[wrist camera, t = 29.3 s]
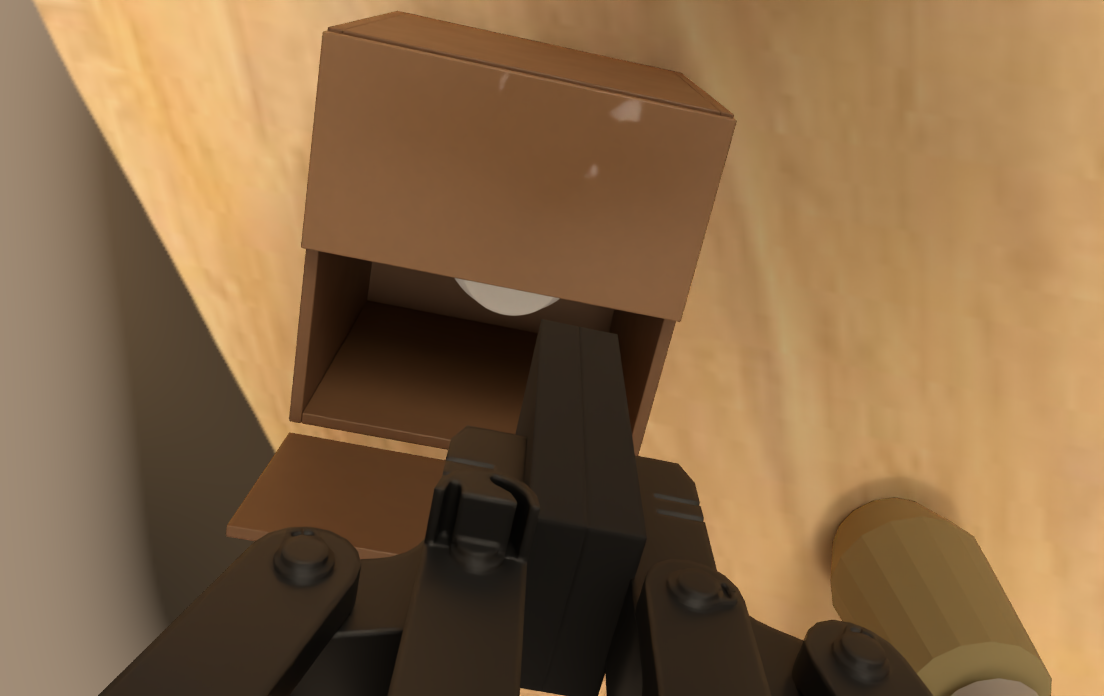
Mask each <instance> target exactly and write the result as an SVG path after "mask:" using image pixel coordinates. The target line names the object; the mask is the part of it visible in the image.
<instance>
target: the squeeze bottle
mask: <svg viewBox="0 0 1104 696" xmlns="http://www.w3.org/2000/svg"><path fill="white" fill-rule="evenodd" d="M831 591H832V603H833V606H834V608H835V610H836V611H837V613H838V615H839V616H840V618H841V620H842V621H843V622H850V623H853V624H856V625H858V626H861V627H864V628H866V629H868V630H871V631H872V632H874V633H875V634H877V635H879V636H880V637H882V638H883V639H885V640H886V641H888V642H889V643H890V644H891V645H892V646H893V647H894V648H895V649H896V650H897V651H898V652H899V653H900V654H901V655H902V656H903V657H904V658H905V659H906V660H907V662H908V663H909V664H910V665H911V667H912V668H913V669H914V671H915V672H916V673H917V675H918V676H919V677H920V679H921V680H922V681H923V682H924V684H925V685H926V686H927V688H928V689H929V690H930V692H931V693H932V694H933V696H1051V682H1052V678H1051V676H1050V675H1049V673H1048V671H1047V669H1046V667H1045V665H1044V664H1043V662H1042V660H1041V658H1040V656H1039V654H1038V653H1037V651H1036V649H1035V647H1034V645H1033V643H1032V642H1031V640H1030V638H1029V636H1028V634H1027V632H1026V631H1025V629H1024V627H1023V625H1022V623H1021V621H1020V619H1019V618H1018V616H1017V614H1016V612H1015V610H1014V608H1013V607H1012V605H1011V603H1010V601H1009V599H1008V597H1007V596H1006V594H1005V592H1004V590H1003V588H1002V586H1001V585H1000V583H999V581H998V579H997V577H996V575H995V574H994V572H993V570H992V568H991V566H990V564H989V563H988V561H987V559H986V557H985V555H984V553H983V552H982V550H981V548H980V546H979V545H978V543H977V541H976V539H975V538H974V536H972V535H971V534H969V533H968V532H966V531H965V530H963V529H962V528H960V527H958V526H957V525H955V524H954V523H952V522H951V521H949V520H947V519H945V518H943V517H942V516H940V515H938V514H936V513H934V512H933V511H931V510H929V509H927V508H925V507H924V506H922V505H920V504H918V503H916V502H915V501H910V500H905V499H899V498H888V499H882V500H875V501H872V502H870V503H868V504H866V505H864V506H862V507H860V508H858V509H856V510H854V511H853V512H852V513H851V514H850V515H849V516H848V517H847V518H846V519H845V520H844V521H843V522H842V523H841V524H840V525H839V528H838V530H837V533H836V535H835V538H834V540H833V547H832V566H831Z"/></svg>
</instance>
